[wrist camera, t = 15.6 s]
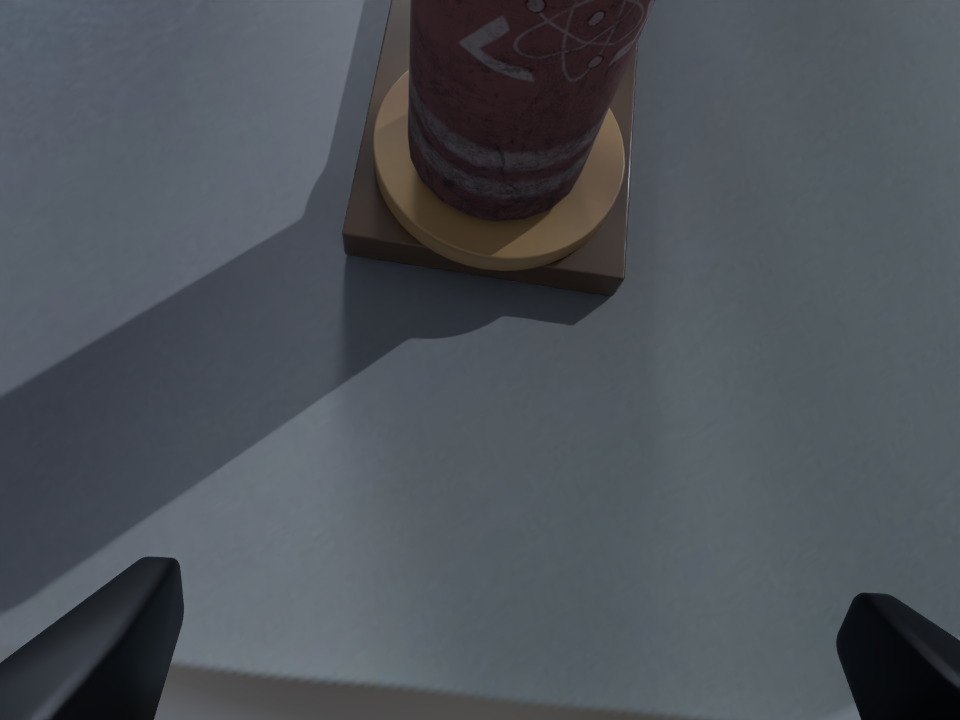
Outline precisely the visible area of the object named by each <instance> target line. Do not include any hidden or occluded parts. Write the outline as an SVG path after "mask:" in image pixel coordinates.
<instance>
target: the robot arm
mask: <svg viewBox="0 0 960 720" xmlns="http://www.w3.org/2000/svg"><path fill="white" fill-rule="evenodd" d="M183 615H184V602H183V591H182V581H181V571H180V565H179V563H178V561H177V560H176V559H174V558H167V557H144V558H141V559H139V560H138V561H136V562H135V563H134V564H132V565H131V566H130V567H128V568H127V569H126V570H124V571H123V572H122V573H120V574H119V575H118V576H116V577H115V578H114V579H112V580H111V581H110V582H108V583H107V584H106V585H104V586H103V587H101V588H100V589H99V590H97V591H96V592H95V593H93V594H92V595H91V596H89V597H88V598H87V599H85V600H84V601H83V602H81V603H80V604H79V605H77V606H76V607H75V608H73V609H72V610H71V611H69V612H68V613H67V614H65V615H64V616H63V617H61V618H60V619H59V620H57V621H56V622H55V623H53V624H52V625H50V626H49V627H48V628H46V629H45V630H44V631H42V632H41V633H40V634H38V635H37V636H36V637H34V638H33V639H32V640H30V641H29V642H28V643H26V644H25V645H24V646H22V647H21V648H20V649H18V650H17V651H16V652H14V653H13V654H12V655H10V656H9V657H8V658H6V659H5V660H4V661H2V662H1V663H0V720H154V716H155V714H156V710H157V707H158V703H159V700H160V697H161V693H162V690H163V687H164V683H165V680H166V677H167V673H168V670H169V666H170V663H171V660H172V656H173V653H174V650H175V646H176V643H177V640H178V636H179V633H180V629H181V626H182V621H183ZM836 646H837V652H838V656H839V659H840V662H841V664H842V667H843V670H844V673H845V676H846V678H847V681H848V684H849V687H850V689H851V692H852V695H853V698H854V701H855V703H856V706H857V709H858V712H859V714H860V717H861V720H960V640H958V639H957V638H955V637H954V636H952V635H951V634H949V633H948V632H946V631H945V630H943V629H942V628H940V627H939V626H937V625H936V624H934V623H933V622H931V621H930V620H928V619H927V618H925V617H924V616H922V615H921V614H919V613H918V612H916V611H915V610H913V609H912V608H910V607H909V606H907V605H906V604H904V603H902V602H901V601H899V600H898V599H896V598H895V597H893V596H891V595H888V594H880V593H860V594H858V595H857V596H856V597H855V598H854V599H853V601H852V603H851V605H850V608H849V610H848V612H847V614H846V617H845V619H844V621H843V623H842V625H841V628H840V630H839V632H838V635H837V641H836Z"/></svg>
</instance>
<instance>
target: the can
mask: <svg viewBox="0 0 960 720" xmlns="http://www.w3.org/2000/svg"><path fill="white" fill-rule="evenodd" d="M654 1H655V0H411V1H410V48H409V94H408V142H409V150H410V159H411V161H412V163H413V165H414V167H415V169H416V170H417V172H418V174H419V176H420V178H421V180H422V182H423V183H424V184H425V185H426V186H427V187H428V188H429V189H430V190H431V191H432V192H433V193H434V194H435V195H436V196H437V197H438V198H439V199H440V200H441V201H442V202H444V203H446V204H448V205H450V206H452V207H454V208H456V209H457V210H459V211H461V212H463V213H465V214H467V215H469V216H473V217H478V218H482V219H487V220H492V221H504V220H520V219H526V218H529V217H532V216H534V215H537V214H540V213H542V212H545V211H548V210H550V209H551V208H552V207H554V206H555V205H556V204H557V203H559V202H560V201H561V200H562V199H563V198H565V197H566V196H567V195H568V194H569V193H570V192H571V190H572V188H573V186H574V185H575V183H576V181H577V180H578V178H579V176H580V174H581V172H582V170H583V168H584V165H585V163H586V161H587V158H588V156H589V154H590V151H591V149H592V147H593V144H594V142H595V140H596V137H597V135H598V133H599V130H600V128H601V125H602V123H603V121H604V118H605V116H606V114H607V111H608V109H609V107H610V104H611V102H612V100H613V97H614V95H615V93H616V90H617V88H618V86H619V83H620V81H621V79H622V76H623V74H624V72H625V69H626V67H627V64H628V62H629V60H630V57H631V55H632V53H633V50H634V48H635V46H636V43H637V41H638V39H639V36H640V34H641V32H642V29H643V27H644V25H645V22H646V20H647V18H648V15H649V13H650V11H651V8H652V6H653V3H654Z"/></svg>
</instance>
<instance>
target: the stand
mask: <svg viewBox="0 0 960 720" xmlns="http://www.w3.org/2000/svg"><path fill="white" fill-rule="evenodd" d="M410 1H411V0H391V5H390V10H389V14H388V19H387V24H386V28H385V33H384V38H383V43H382V47H381V52H380V57H379V61H378V66H377V71H376V76H375V80H374V85H373V90H372V94H371V99H370V104H369V109H368V113H367V118H366V123H365V127H364V132H363V137H362V141H361V146H360V151H359V156H358V160H357V165H356V170H355V174H354V179H353V184H352V189H351V193H350V198H349V203H348V207H347V212H346V217H345V222H344V226H343V231H342V236H343V243H344V250H345V253H346V254H350V255H356V256H362V257H369V258H375V259H381V260H388V261H394V262H400V263H407V264H413V265H419V266H425V267H432V268H438V269H444V270H451V271H457V272H463V273H470V274H476V275H482V276H488V277H495V278H501V279H507V280H514V281H520V282H526V283H533V284H539V285H545V286H551V287H558V288H564V289H570V290H577V291H583V292H589V293H596V294H602V295H608V296H613V295H614V293H615V292H616V290H617V289H618V288H619V286H620V285H621V283H622V282H623V280H624V279H625V262H626V244H627V225H628V207H629V189H630V171H631V153H632V135H633V117H634V99H635V81H636V62H637V44H638V41H637V43H636V46H635V48H634V50H633V53H632V55H631V57H630V60H629V62H628V64H627V67H626V69H625V72H624V74H623V76H622V79H621V81H620V83H619V86H618V88H617V90H616V93H615V95H614V97H613V100H612V102H611V104H610V107H609V109H608V111H607V114H606V116H605V118H604V121H603V123H602V125H601V128H600V130H599V133H598V135H597V137H596V140H595V142H594V144H593V147H592V149H591V151H590V154H589V156H588V158H587V161H586V163H585V165H584V168H583V170H582V172H581V174H580V176H579V178H578V180H577V181H576V183H575V185H574V186H573V188H572V190H571V192H570V193H569V194H568V195H567V196H566V197H565V198H563V199H562V200H561V201H560V202H559V203H557V204H556V205H555V206H554V207H552V208H551V209H550V210H548V211H545V212H542V213H540V214H537V215H534V216H532V217H529V218H526V219H520V220H504V221H492V220H487V219H482V218H478V217H473V216H469V215H467V214H465V213H463V212H461V211H459V210H457V209H456V208H454V207H452V206H450V205H448V204H446V203H444V202H442V201H441V200H440V199H439V198H438V197H437V196H436V195H435V194H434V193H433V192H432V191H431V190H430V189H429V188H428V187H427V186H426V185H425V184H424V183H423V182H422V180H421V178H420V176H419V174H418V172H417V170H416V169H415V167H414V165H413V163H412V161H411V159H410V150H409V142H408V94H409V48H410Z"/></svg>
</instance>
